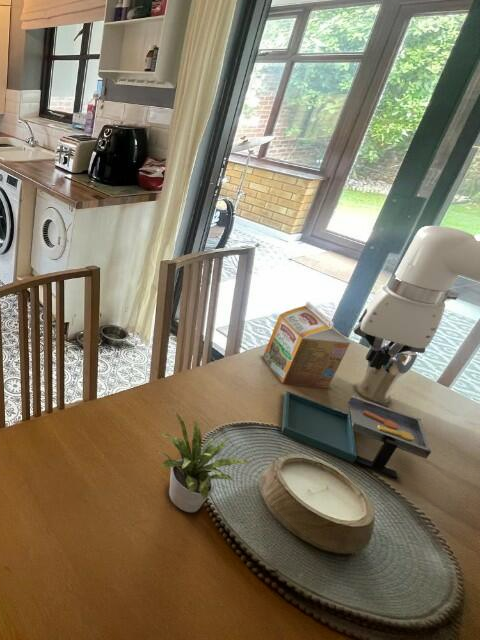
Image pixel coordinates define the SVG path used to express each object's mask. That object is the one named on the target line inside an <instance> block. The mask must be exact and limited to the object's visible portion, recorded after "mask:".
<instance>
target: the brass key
mask: <svg viewBox="0 0 480 640" xmlns="http://www.w3.org/2000/svg"><path fill="white" fill-rule="evenodd" d="M377 427H378V429H379V430H381V431H384V432H388V433H391V434H395V435H398V436H401V437H402V438H404V439H406V440H410V441H412V440H413V439H414V437H413V435H411V434H410V433H408V432H406V431H402V430H401V431H397V430H394V429H390V428H387V427H383V426H380V425H378V426H377Z"/></svg>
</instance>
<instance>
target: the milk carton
mask: <svg viewBox="0 0 480 640" xmlns="http://www.w3.org/2000/svg"><path fill="white" fill-rule="evenodd" d="M334 326H335V323H334V321H332V320H331V319H330V318H329V317H327V315H325V314H324V313H323V312H322V311H321V310H319V309H318V308H317V307H316V306H315V305H314V304H312V303H311V302H310V301H306V303H305V305H303V306H299V307H296V308H295V307H294V308H292V309H289V310H286V311H284V312H283V313H281V314H279V315H278V318H277V320H276V323H275V325H274V327H273V330H272V333H271V335H270V338H269V340H268V343H267V345H266V347H265V350H264V353H263V356H262V358H263V360H264V361H265V363H267V365H268V366H269V367H270V369H271V370H272V371H273V372H274V374H275V375H276V376H277V378H278V379H279V380H280V381H281V383H282V384H288V385H296V386H305V387H315V388H324V389H328V388H329V386H330V385H331V383H332V381H333V379H334V378H335V375H336V373H337V371H338V369H339V366H340V365H341V363H342V360H343V358H344V357H345V355H346V353H347V350H348V348H349V347H350V345H351V342H350V341H349V340H348V338H347V337H346V336H345V335H344V334H342V333H341V332H340V331H339V330H338V329H336V328H335V327H334Z"/></svg>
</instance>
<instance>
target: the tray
mask: <svg viewBox="0 0 480 640" xmlns="http://www.w3.org/2000/svg"><path fill="white" fill-rule="evenodd" d="M282 407H283V409H282V423H281V435H282V434H283V435H285V436H287V437H290V438H292V439H295V440H297V441H299V442H302V443H303V444H306V445H309V446H312V447H314V448H316V449H318V450H321V451H324V452H326V453H329V454H331V455H333V456H336V457H338V458H340V459H343V460H345V461H348V462H350V463H352V464H353V463H355V462H356V457H357V456H358V455H357V447H356V440H355V431H352V428H351V420H350V412H346V411H343V410H340V409H338V408H335V407H332V406H330V405H326V404H324V403H321V402H318V401H316V400H313V399H310V398H308V397H305V396H302V395H299V394H296V393H294V392H291V391H288V390H286V392H285V394H284V396H283V405H282Z"/></svg>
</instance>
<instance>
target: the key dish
mask: <svg viewBox="0 0 480 640" xmlns="http://www.w3.org/2000/svg"><path fill="white" fill-rule="evenodd" d="M347 404H348V405H347V406H348V413H349V414H350V420H351V428H352V431H354V433H357V434H360V435H362V436H365V437H368V438H371V439H373V440H377V441H378V442H381V443H384V442H385V440H386V439H389V440H391V441H394V442H397V444H398V447H397V448H396V449H399V450H401V451H405V452H407V453H410V454H413V455H415V456H418V457H419V458H423V459H425V460H427V459H428V457H429V456H430V454H431V453H432V449H431V446H430V443H429V440H428V436H427V434H426V431H425V428H424V425H423V422H422V419H421V418H418V417H415V416H412V415H409V414H406V413H403V412H401V411H398V410H395V409H392V408H386V407H384V406H381V405H378V403H376V402H373V401H370V400H366V399H363V398H360V397H357V396H355V395H351V396H350V398H349V400H348V402H347ZM365 410H366V411H369V412H371V413H373V414H375V415H377V416H379V417H381V418H384V419H386V420H391V421H393V422H395V423H396V424H397V425H398V426H399V427H398V429H394V430H397V431H401V430H402V431H406V432H408V433H410V434H411V435H413V437H414V439H413V440H412V441H410V440H406V439H404V438H402V437H401V436H398V435H395V434H391V433H388V432H384V431H381V430H379V429H378V427H377V426H378V425H380V426H383V427H387V428H390V427H388V426H386V425H385V424H384V423H382V422H380V421H378V420H376V419H374V418H372V417H370V416H368V415H365V414H363V413H364V411H365ZM390 429H392V428H390Z"/></svg>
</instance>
